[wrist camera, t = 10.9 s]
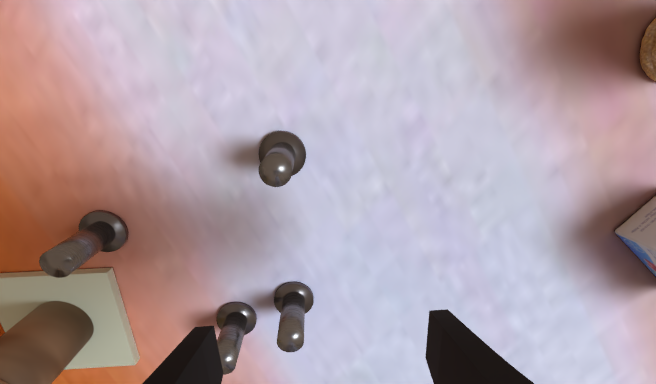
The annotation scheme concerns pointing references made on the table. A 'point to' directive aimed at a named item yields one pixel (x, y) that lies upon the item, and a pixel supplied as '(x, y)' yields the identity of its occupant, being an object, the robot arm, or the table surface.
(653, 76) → the sprinkles bottle
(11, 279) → the pad
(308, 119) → the table surface
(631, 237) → the medicine box
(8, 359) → the walnut peg
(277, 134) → the slalom posts
